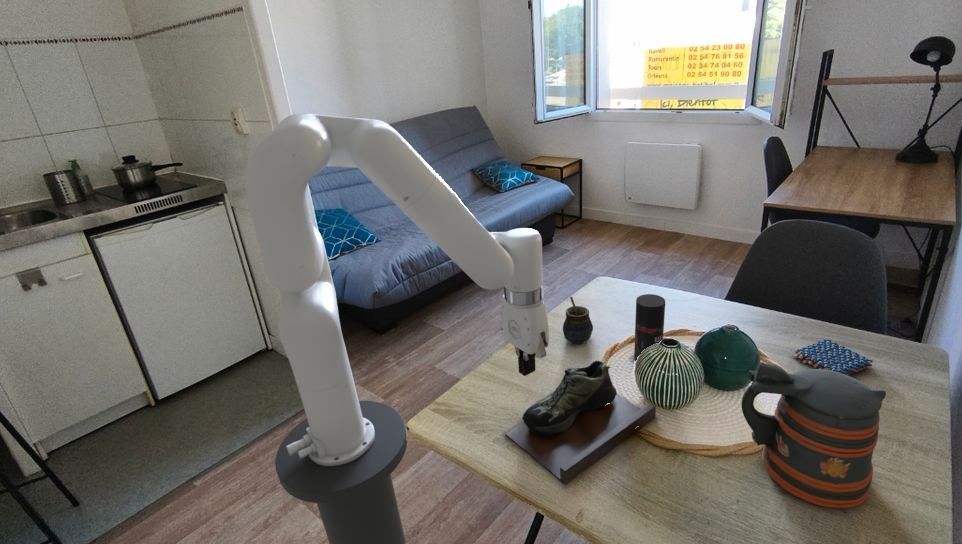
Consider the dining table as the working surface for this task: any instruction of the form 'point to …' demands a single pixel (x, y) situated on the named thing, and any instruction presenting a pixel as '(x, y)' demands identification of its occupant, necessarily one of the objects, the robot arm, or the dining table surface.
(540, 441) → the shoe shelf
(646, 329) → the deodorant
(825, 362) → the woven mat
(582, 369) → the hiking shoe
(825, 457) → the beer stein
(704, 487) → the dining table surface
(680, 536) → the dining table surface
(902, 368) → the dining table surface
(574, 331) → the mate gourd
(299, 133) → the robot arm
